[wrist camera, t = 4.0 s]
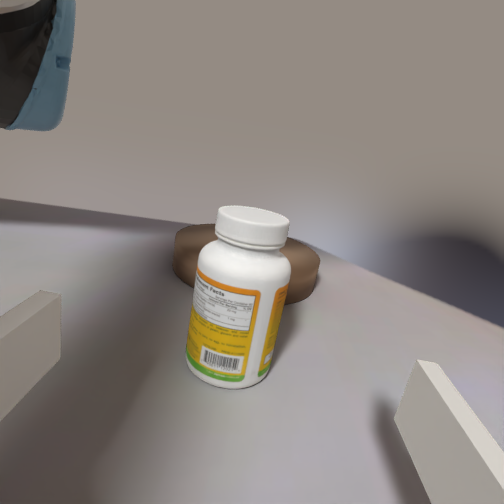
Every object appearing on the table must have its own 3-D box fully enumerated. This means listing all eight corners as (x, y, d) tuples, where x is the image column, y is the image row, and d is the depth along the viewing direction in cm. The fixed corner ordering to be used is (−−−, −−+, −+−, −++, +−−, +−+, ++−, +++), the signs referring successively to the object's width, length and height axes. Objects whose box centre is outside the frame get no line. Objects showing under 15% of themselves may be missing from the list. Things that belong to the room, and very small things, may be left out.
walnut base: (145, 253, 37) (148, 226, 36) (249, 243, 48) (253, 222, 47) (234, 320, 27) (241, 285, 26) (341, 289, 38) (348, 263, 37)
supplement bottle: (243, 333, 26) (268, 204, 23) (285, 380, 22) (323, 229, 19) (172, 344, 23) (190, 198, 20) (204, 401, 19) (233, 227, 16)
